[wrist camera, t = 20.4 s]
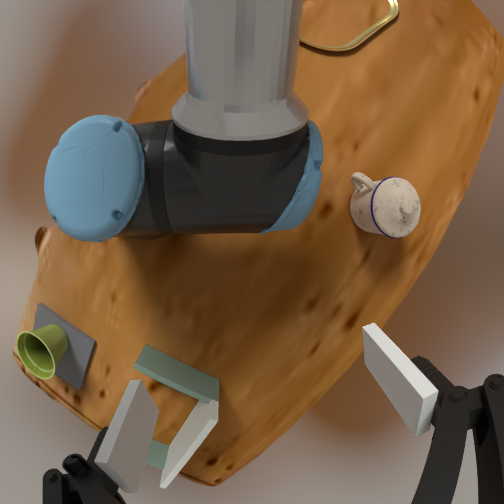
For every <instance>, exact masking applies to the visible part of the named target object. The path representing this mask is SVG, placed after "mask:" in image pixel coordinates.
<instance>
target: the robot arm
mask: <svg viewBox="0 0 504 504" xmlns="http://www.w3.org/2000/svg"><path fill="white" fill-rule="evenodd" d="M303 2H304V0H184V26H185V50H186V68H187V84H188V90H187V91H186V92H185V93H184V94H183V95H182V96H181V97H180V99H179V100H178V101H177V102H176V103H175V104H174V106H173V108H172V112H171V113H172V120H166V121H155V122H146V123H138V124H129V123H128V122H126V121H124V120H123V119H121V118H119V117H116V118H115V117H112V116H108V115H95V116H90V117H88V118H85V119H82V120H80V121H79V122H77V123H76V124H74V125H73V126H71V127H70V128H69V129H68V130H67V131H66V132H65V133H64V134H63V135H62V137H61V138H60V140H59V144H58V145H57V146H56V148H54V149H53V151H52V153H51V155H50V158H49V160H48V164H47V168H46V172H45V182H44V191H45V199H46V203H47V207H48V210H49V212H50V215H51V217H52V218H53V219H54V220H55V222H56V223H57V224H58V227H59V228H60V229H61V230H62V231H63V232H64V233H65V234H67V235H68V236H70V237H72V238H74V239H77V240H81V241H90V242H103V241H106V240H107V239H110V238H112V237H120V236H130V237H133V238H136V239H142V240H150V239H156V238H160V237H163V236H165V235H168V234H211V233H260V234H263V233H267V232H269V231H279V230H289V229H293V228H295V227H297V226H298V225H300V224H301V223H302V222H303V221H304V220H305V219H306V218H307V216H308V215H309V213H310V212H311V210H312V208H313V206H314V203H315V201H316V198H317V195H318V192H319V188H320V184H321V178H322V172H321V170H320V166H321V164H322V162H323V143H322V138H321V134H320V131H319V129H318V128H317V126H316V125H315V123H314V122H312V121H311V120H308V118H309V110H308V107H307V106H306V105H305V103H304V102H303V101H302V100H301V99H300V98H299V97H298V95H297V94H296V93H295V92H294V83H295V75H296V66H297V57H298V49H299V40H300V31H301V21H302V12H303ZM362 331H363V344H364V358H365V365H366V366H367V368H368V369H369V371H370V372H371V374H372V375H373V376H374V378H375V379H376V381H377V382H378V384H379V385H380V386H381V388H382V389H383V391H384V392H385V393H386V395H387V396H388V398H389V400H390V401H391V402H392V404H393V405H394V407H395V408H396V409H397V411H398V413H399V414H400V416H401V417H402V419H403V420H404V421H405V423H406V424H407V426H408V427H409V429H410V430H411V432H412V433H413V435H414V436H415V437H417V436H419V435H421V434H423V433H425V432H427V431H429V429H430V425H431V423H432V425H433V426H434V427H435V431H434V434H433V437H432V443H431V446H430V450H429V454H428V457H427V460H426V464H425V467H424V470H423V473H422V476H421V479H420V482H419V485H418V488H417V490H416V493H415V495H414V498H413V501H412V503H411V504H451V502H452V499H453V496H454V492H455V489H456V485H457V481H458V476H459V472H460V468H461V463H462V458H463V453H464V448H465V441H466V435H467V430H469V429H472V430H473V437H474V445H475V452H476V462H477V475H478V496H479V497H478V501H479V502H478V503H479V504H504V376H503V375H500V374H492V375H490V376H488V377H487V378H486V379H485V381H484V384H483V385H482V386H479V387H476V388H473V389H467V388H465V387H462V386H454V385H453V384H452V383H451V382H450V381H449V380H448V379H447V378H446V377H445V376H444V375H443V374H442V373H441V372H440V371H438V370H437V368H436V367H435V366H433V365H432V363H430V361H429V360H427V359H425V358H423V357H421V356H417V357H415V358H413V359H411V360H409V358H408V357H407V356H406V355H405V354H404V353H403V352H402V351H401V350H400V349H399V348H398V347H397V346H396V345H395V344H394V343H393V342H392V341H391V340H390V339H389V338H388V336H387V335H386V334H385V333H384V332H383V331H382V330H381V329H380V328H379V327H378V326H377V325H376V324H375V323H372V324H369V325H366V326H363V327H362ZM158 414H159V410H158V408H157V407H156V405H155V403H154V402H153V400H152V398H151V396H150V395H149V393H148V391H147V389H146V388H145V386H144V384H143V382H142V380H141V379H139V380H130V382H129V384H128V386H127V389H126V391H125V393H124V395H123V397H122V399H121V401H120V404H119V406H118V408H117V410H116V412H115V415H114V417H113V419H112V421H111V423H110V426H109V427H104V428H103V429H102V430H101V432H100V433H99V435H98V437H97V441H95V443H94V446H93V448H92V450H91V453H90V455H89V457H88V459H87V461H86V460H85V459H84V458H83V457H82V456H81V455H79V454H71V455H69V456H67V457H66V458H65V460H64V461H63V464H62V466H63V468H64V469H65V470H66V471H67V472H68V473H69V474H62V473H61V472H60V471H59V470H57V469H50V470H48V471H47V472H46V473H45V474H44V476H43V504H126V503H125V501H124V499H123V498H122V496H121V495H120V494H119V493H118V492H117V491H118V488H119V487H120V488H121V489H122V490H123V491H124V492H127V493H138V490H139V486H140V481H141V478H142V474H143V470H144V466H145V462H146V458H147V455H148V451H149V447H150V443H151V440H152V436H153V432H154V429H155V425H156V422H157V418H158Z"/></svg>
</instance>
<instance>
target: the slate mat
mask: <svg viewBox="0 0 504 504" xmlns="http://www.w3.org/2000/svg"><path fill="white" fill-rule="evenodd" d="M49 324H55V325H58V326H60V327H61V328H62V329H63V330H64V332H65V333H66V335H67V337H68V343H69V346H68V349H67V350H66V352H65V353H64V355H63V356H62V358H61V359H60V361H59V362H58V364H57V366H56V370H55V375H57V376H58V377H60V378H61V379H62V380H64V381H65V382H67V383H68V384H70V385H71V386H73V387H74V388H76V389H77V390H79V391H80V390H81V388H82V384H83V381H84V377H85V374H86V370H87V367H88V364H89V361H90V357H91V354H92V351H93V348H94V345H95V342H96V340H94V339H92V338H91V337H89V336H88V335H86V334H85V333H83V332H82V331H80V330H79V329H77V328H76V327H74V326H73V325H71V324H70V323H68V322H67V321H66V320H64V319H63V318H61V317H60V316H59V315H57V314H56V313H54V312H53V311H52V310H50V309H49V308H48V307H46V306H45V305H44V304H42V303H40V304H39V305H38V309H37V314H36V319H35V324H34V329H33V331H34V330H37V329H39V328H42V327H44V326H47V325H49Z"/></svg>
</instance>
